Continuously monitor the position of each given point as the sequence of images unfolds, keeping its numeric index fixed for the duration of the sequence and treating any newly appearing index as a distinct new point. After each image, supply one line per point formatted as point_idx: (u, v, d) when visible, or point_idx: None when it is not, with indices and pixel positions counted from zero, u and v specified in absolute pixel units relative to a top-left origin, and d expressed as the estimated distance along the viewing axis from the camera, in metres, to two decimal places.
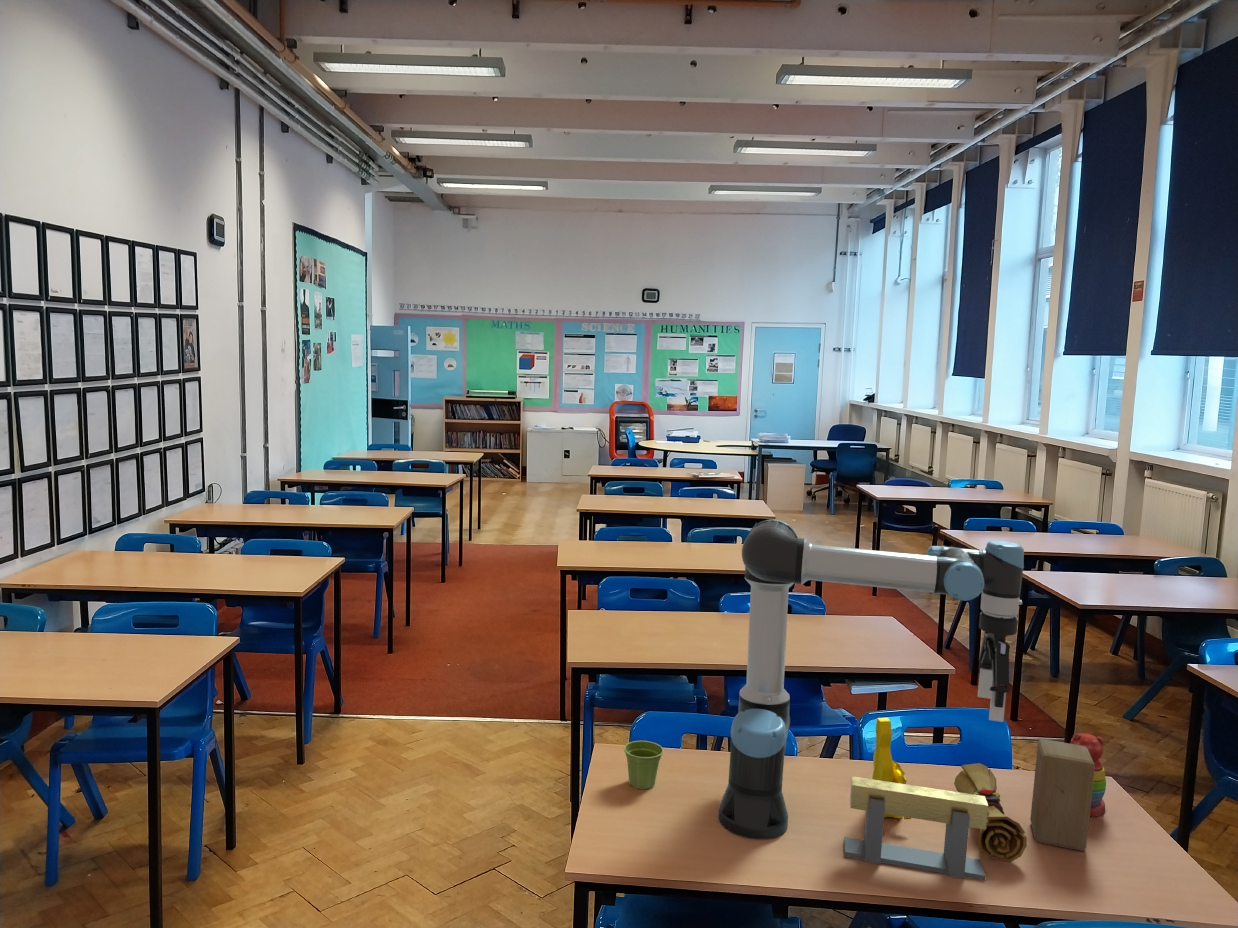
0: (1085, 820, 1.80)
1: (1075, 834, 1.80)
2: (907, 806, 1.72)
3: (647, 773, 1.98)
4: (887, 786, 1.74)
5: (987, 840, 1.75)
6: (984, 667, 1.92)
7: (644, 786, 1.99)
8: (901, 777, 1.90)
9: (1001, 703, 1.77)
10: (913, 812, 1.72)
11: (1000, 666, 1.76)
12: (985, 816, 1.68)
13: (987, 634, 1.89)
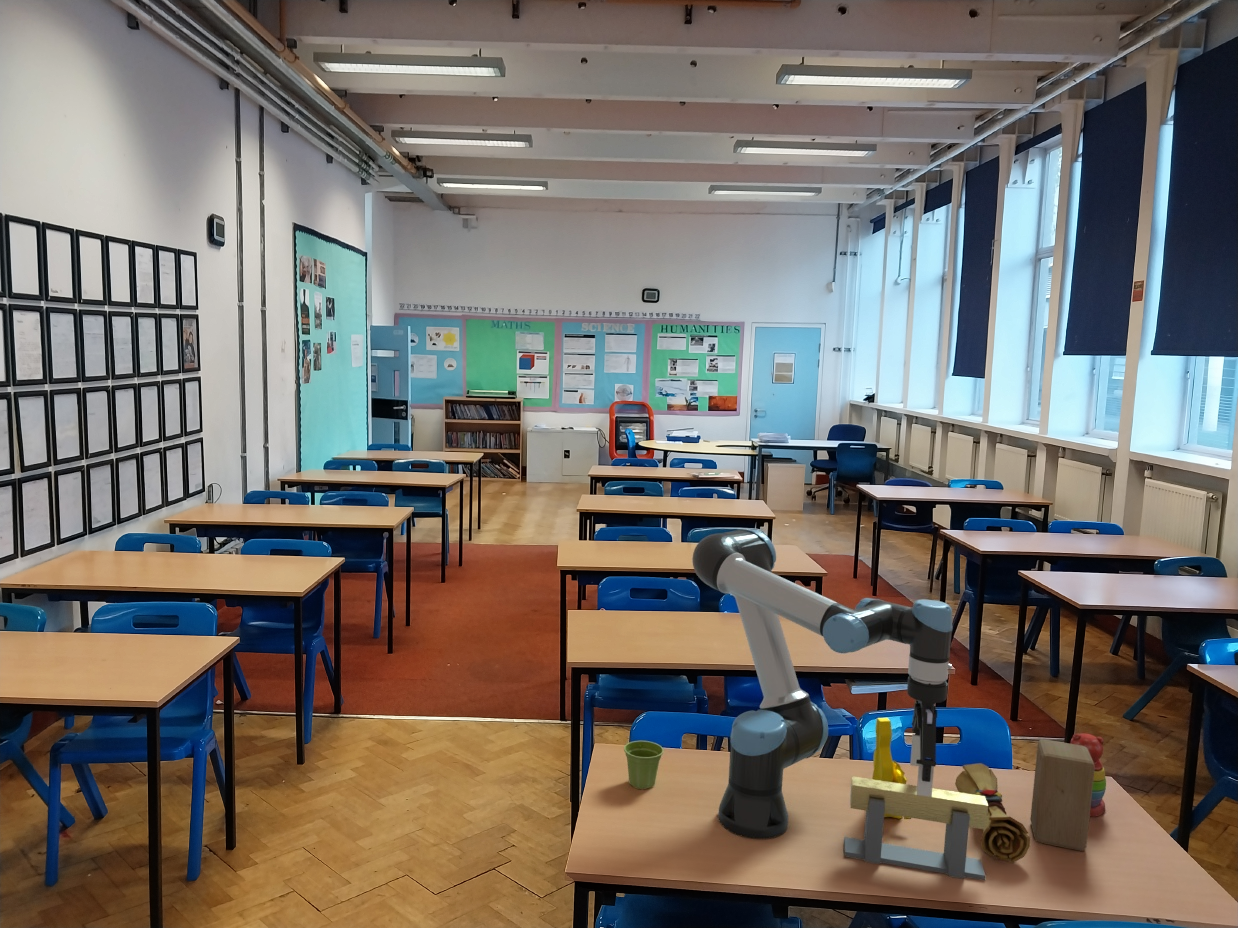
0: (1085, 820, 1.80)
1: (1075, 834, 1.80)
2: (907, 806, 1.72)
3: (647, 773, 1.98)
4: (887, 786, 1.74)
5: (990, 841, 1.75)
6: (916, 733, 1.79)
7: (644, 786, 1.99)
8: (901, 777, 1.90)
9: (928, 777, 1.64)
10: (913, 812, 1.72)
11: (926, 737, 1.64)
12: (985, 816, 1.68)
13: None
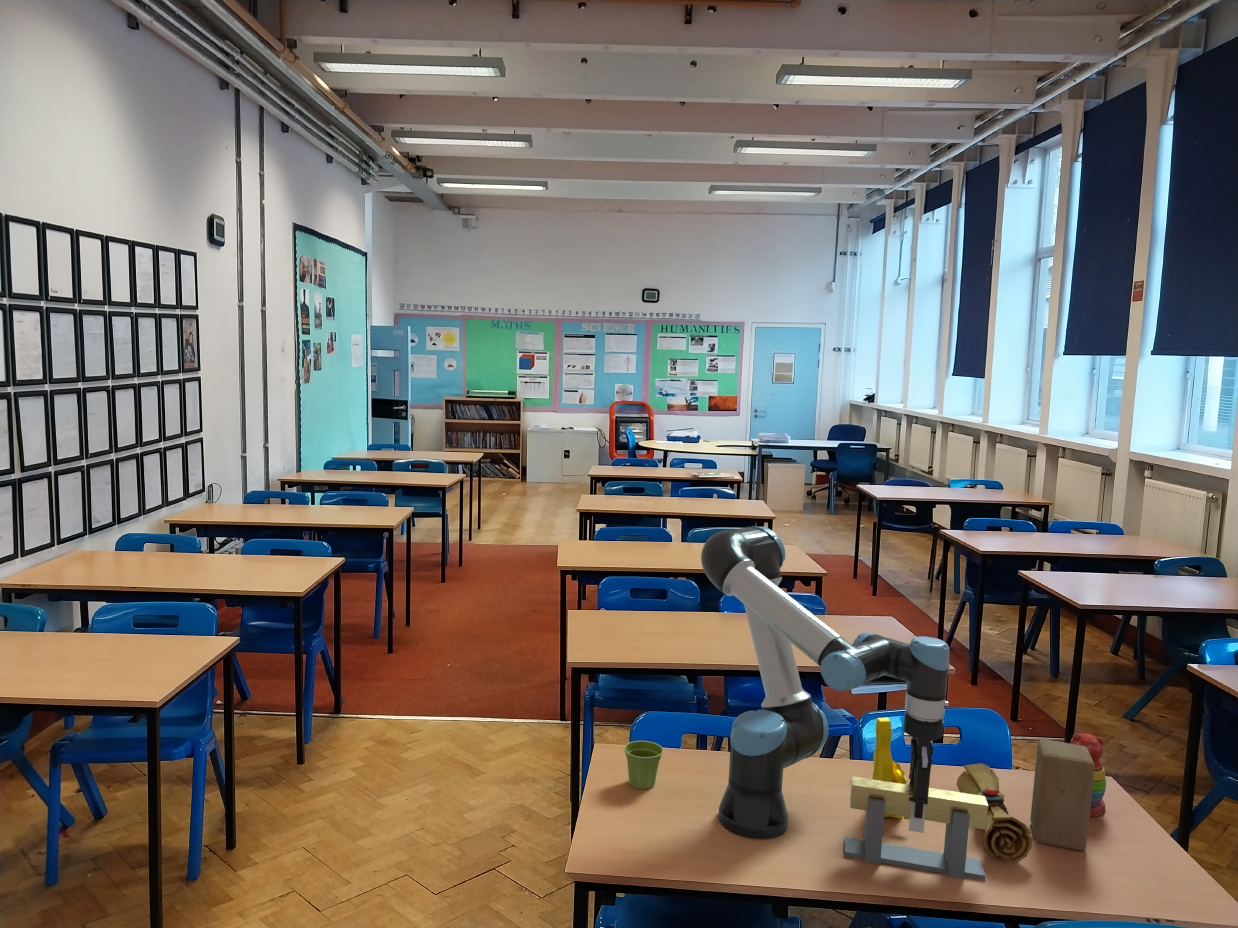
0: (1085, 820, 1.80)
1: (1075, 834, 1.80)
2: (907, 806, 1.72)
3: (647, 773, 1.98)
4: (887, 786, 1.74)
5: (993, 841, 1.75)
6: None
7: (644, 786, 1.99)
8: (901, 777, 1.90)
9: (920, 814, 1.70)
10: None
11: (920, 780, 1.67)
12: (985, 816, 1.68)
13: None
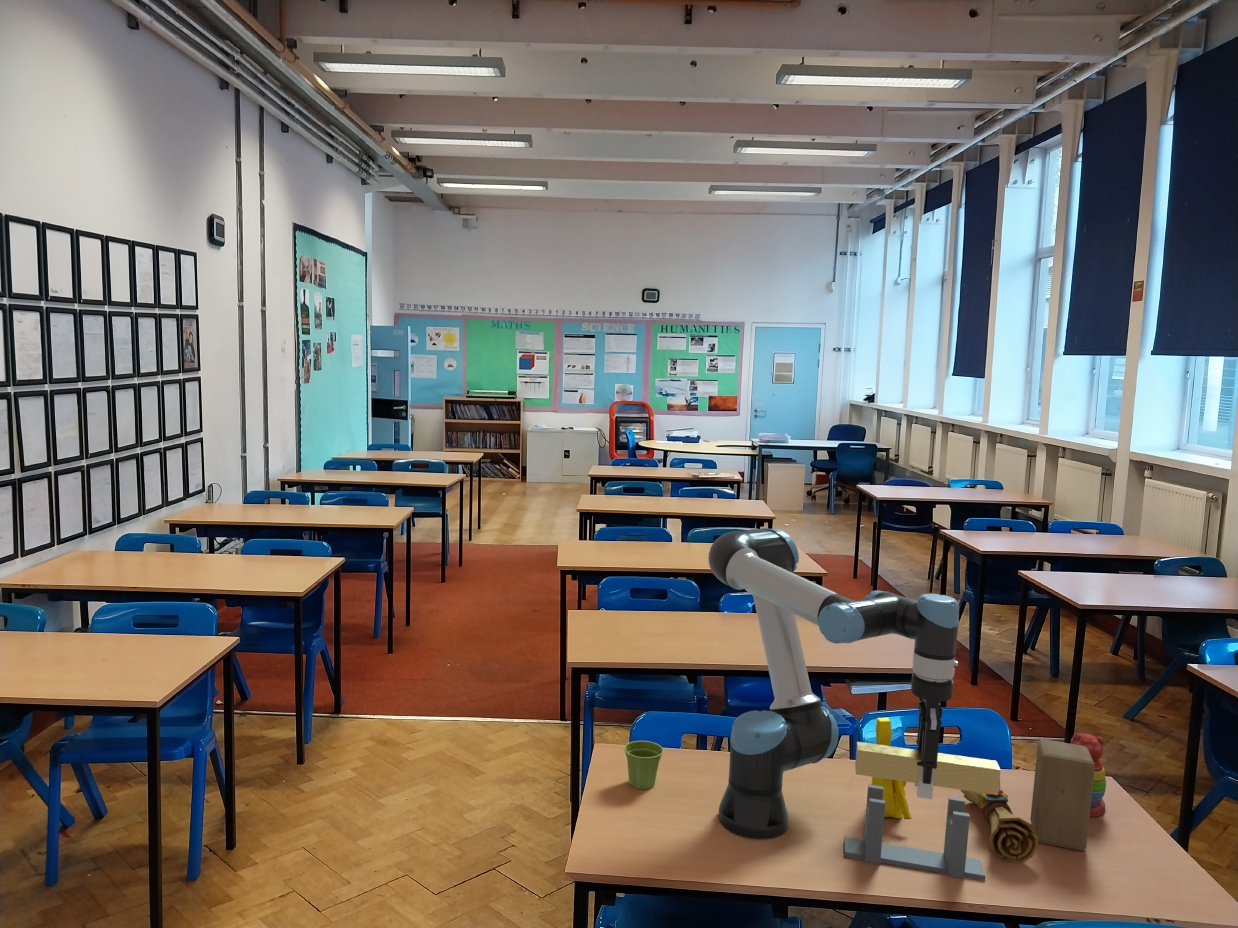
0: (1085, 820, 1.80)
1: (1075, 834, 1.80)
2: (915, 772, 1.64)
3: (647, 773, 1.98)
4: (894, 751, 1.66)
5: (999, 842, 1.75)
6: None
7: (644, 786, 1.99)
8: None
9: (929, 779, 1.62)
10: None
11: (928, 742, 1.59)
12: (997, 781, 1.60)
13: None
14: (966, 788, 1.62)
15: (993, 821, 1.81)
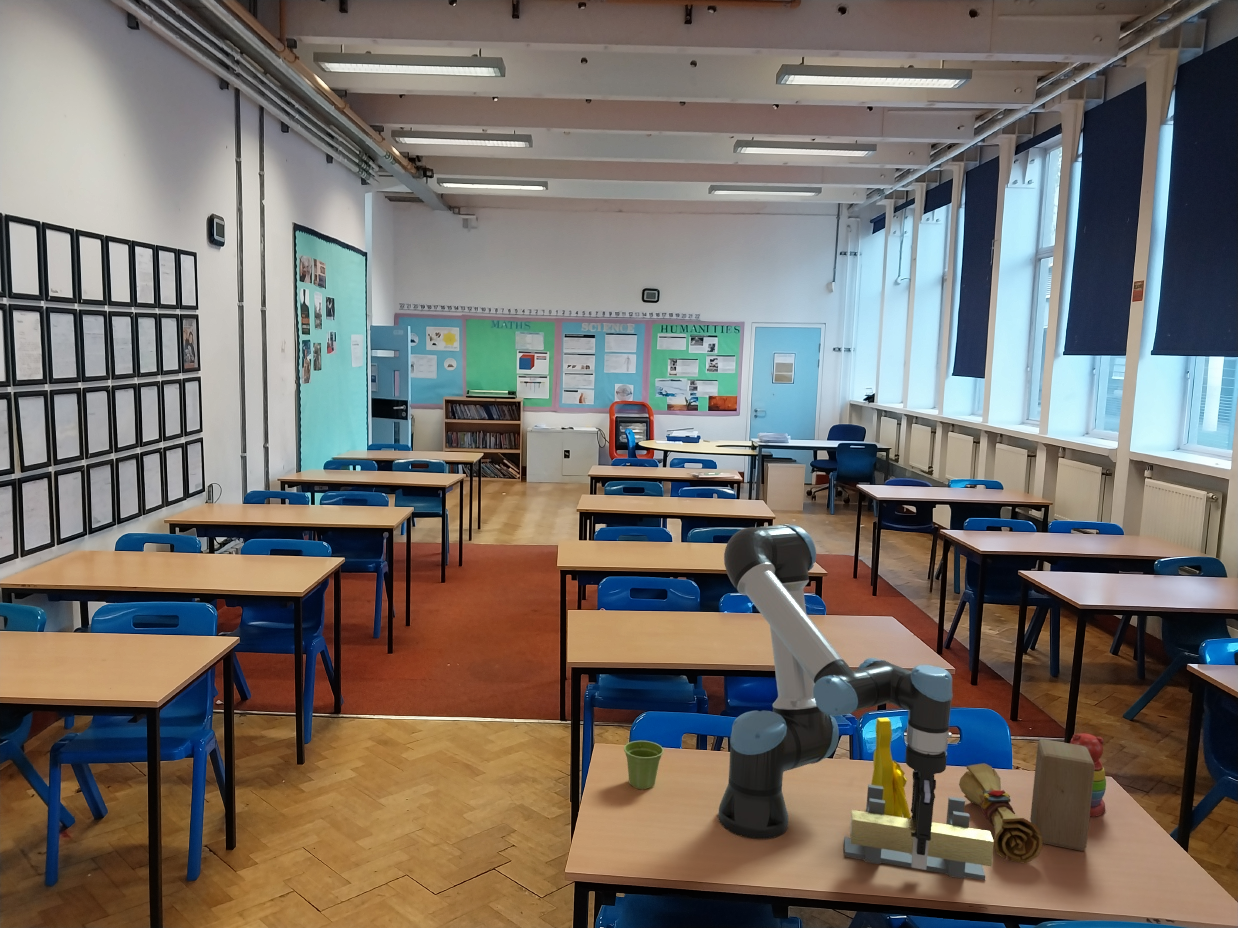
0: (1085, 820, 1.80)
1: (1075, 834, 1.80)
2: (910, 842, 1.65)
3: (647, 773, 1.98)
4: (888, 820, 1.68)
5: (1004, 842, 1.75)
6: None
7: (644, 786, 1.99)
8: (901, 777, 1.90)
9: (923, 850, 1.63)
10: None
11: (922, 815, 1.61)
12: (990, 853, 1.62)
13: (916, 771, 1.71)
14: (960, 859, 1.63)
15: (996, 821, 1.81)
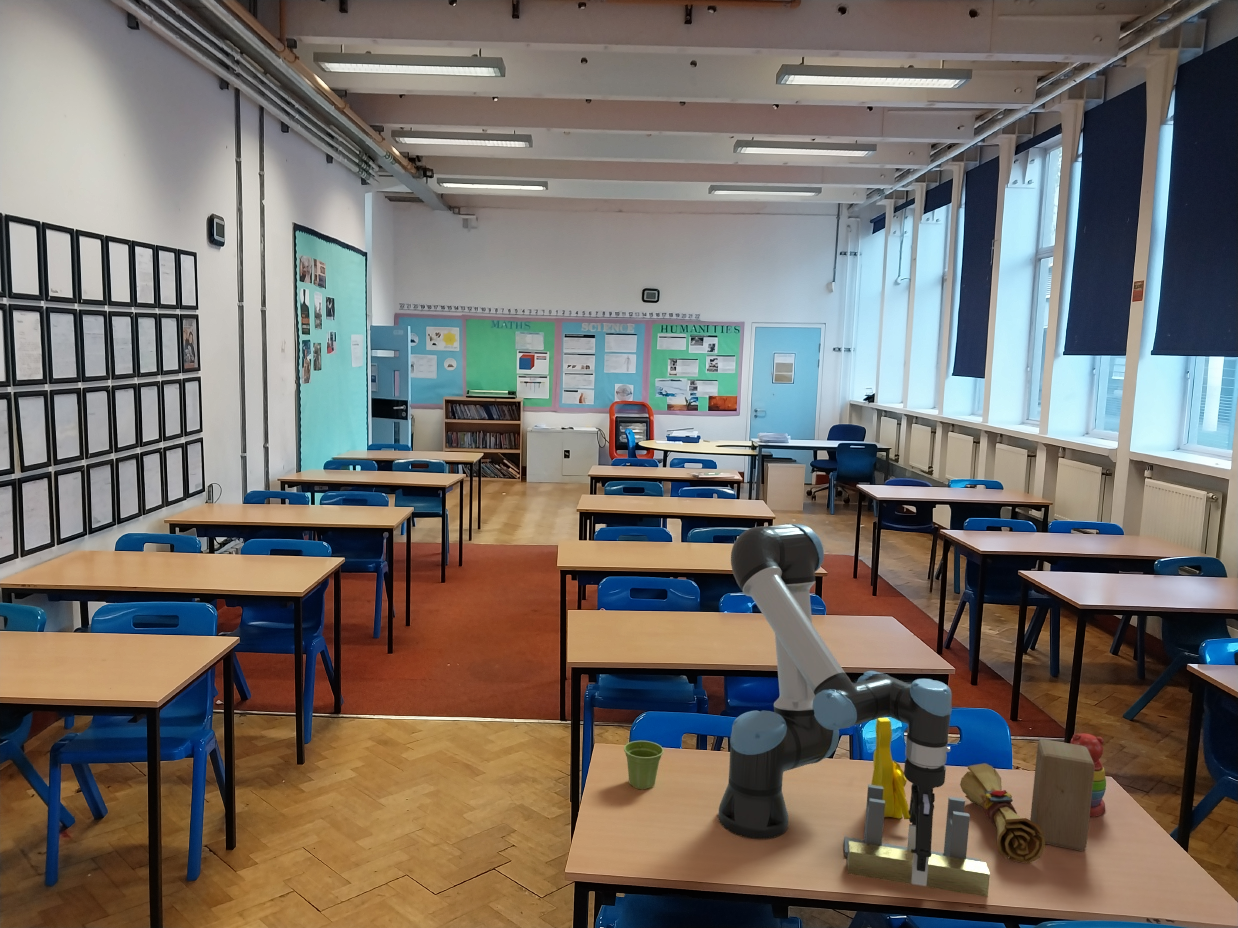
0: (1085, 820, 1.80)
1: (1075, 834, 1.80)
2: (906, 874, 1.66)
3: (647, 773, 1.98)
4: (885, 852, 1.68)
5: (1007, 843, 1.75)
6: (913, 823, 1.72)
7: (644, 786, 1.99)
8: (901, 777, 1.90)
9: (923, 867, 1.61)
10: None
11: (922, 828, 1.60)
12: (986, 885, 1.63)
13: None
14: (956, 891, 1.64)
15: (999, 822, 1.81)
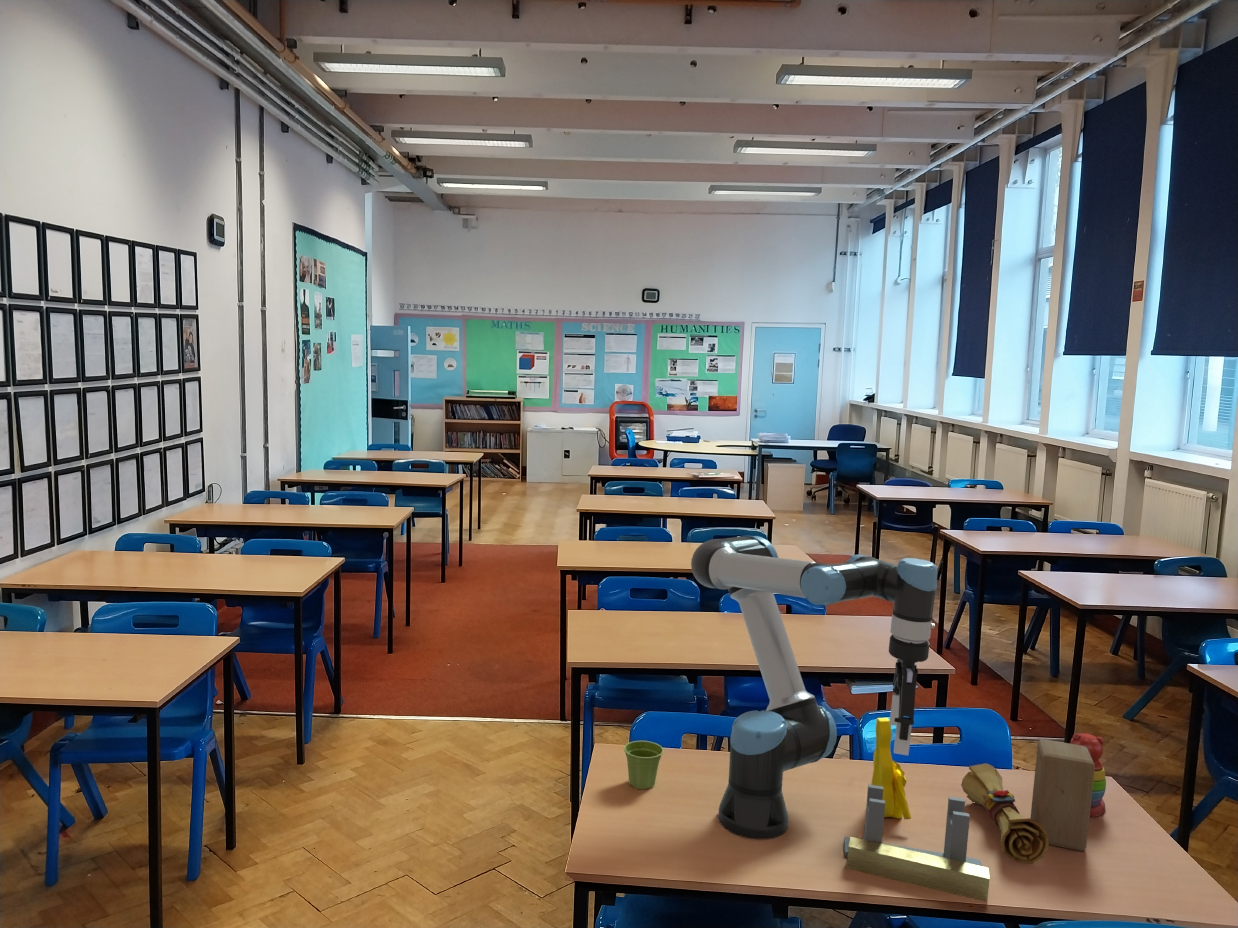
0: (1085, 820, 1.80)
1: (1075, 834, 1.80)
2: (905, 873, 1.67)
3: (647, 773, 1.98)
4: (885, 850, 1.69)
5: (1011, 843, 1.75)
6: (897, 693, 1.77)
7: (644, 786, 1.99)
8: (901, 777, 1.90)
9: (906, 736, 1.63)
10: (911, 879, 1.66)
11: (905, 695, 1.62)
12: (986, 890, 1.61)
13: None
14: (955, 893, 1.63)
15: (1002, 822, 1.80)
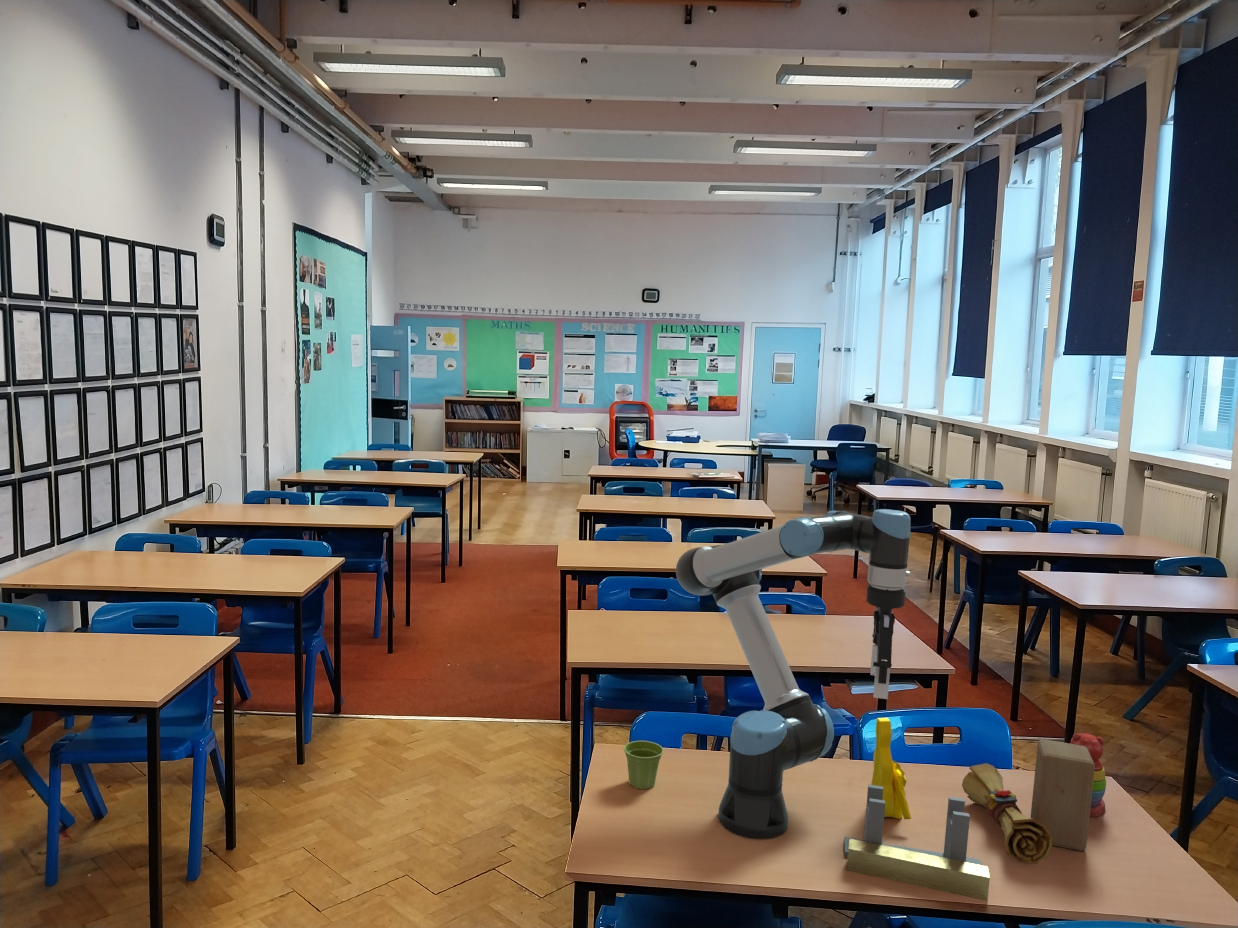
0: (1085, 820, 1.80)
1: (1075, 834, 1.80)
2: (905, 874, 1.66)
3: (647, 773, 1.98)
4: (885, 851, 1.69)
5: (1015, 843, 1.74)
6: (876, 644, 1.82)
7: (644, 786, 1.99)
8: (901, 777, 1.90)
9: (884, 679, 1.67)
10: (911, 880, 1.66)
11: (882, 640, 1.67)
12: (986, 889, 1.62)
13: (878, 608, 1.80)
14: (955, 893, 1.64)
15: (1005, 822, 1.80)
